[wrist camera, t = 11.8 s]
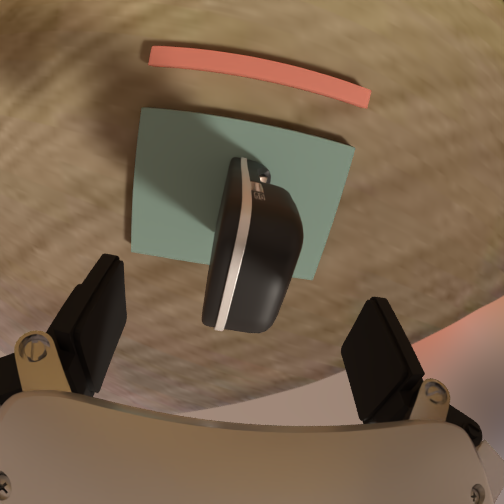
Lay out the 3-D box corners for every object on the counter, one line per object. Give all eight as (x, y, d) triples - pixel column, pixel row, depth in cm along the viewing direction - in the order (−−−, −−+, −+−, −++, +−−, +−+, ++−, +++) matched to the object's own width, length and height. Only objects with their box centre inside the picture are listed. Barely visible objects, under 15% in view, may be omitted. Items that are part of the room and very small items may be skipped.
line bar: (365, 90, 19) (371, 90, 18) (361, 107, 20) (367, 108, 19) (156, 48, 17) (152, 45, 16) (152, 66, 18) (147, 64, 17)
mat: (350, 145, 22) (355, 148, 21) (310, 274, 27) (312, 280, 26) (145, 107, 20) (141, 107, 19) (134, 246, 25) (131, 251, 24)
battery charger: (260, 246, 24) (273, 353, 15) (213, 237, 24) (197, 342, 14) (283, 163, 21) (323, 228, 11) (232, 151, 21) (224, 207, 11)
